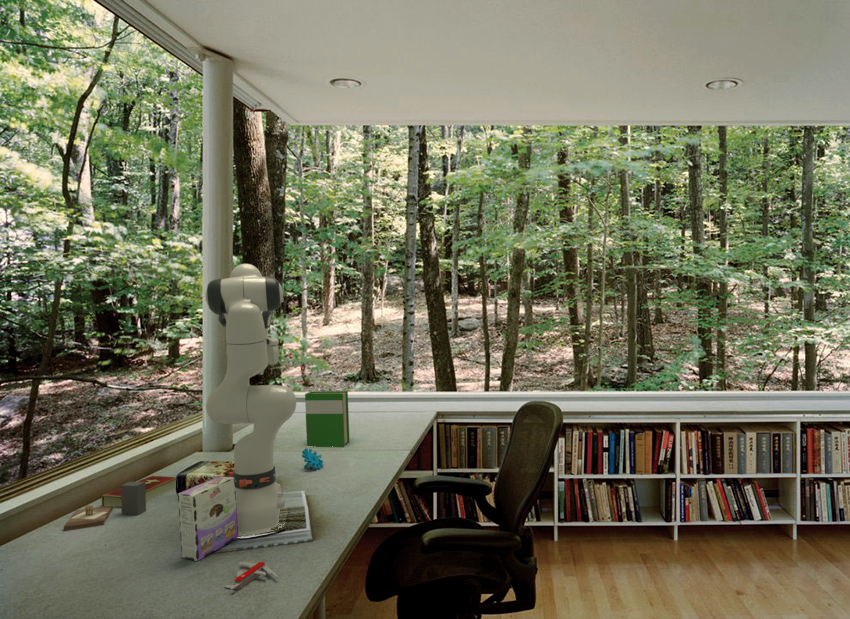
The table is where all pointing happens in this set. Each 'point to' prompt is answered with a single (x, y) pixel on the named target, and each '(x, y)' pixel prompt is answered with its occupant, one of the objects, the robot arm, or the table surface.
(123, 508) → the block
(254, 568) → the swiss army knife
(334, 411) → the hardback book
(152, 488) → the hardcover book
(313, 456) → the gear
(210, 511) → the candy box
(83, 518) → the board
